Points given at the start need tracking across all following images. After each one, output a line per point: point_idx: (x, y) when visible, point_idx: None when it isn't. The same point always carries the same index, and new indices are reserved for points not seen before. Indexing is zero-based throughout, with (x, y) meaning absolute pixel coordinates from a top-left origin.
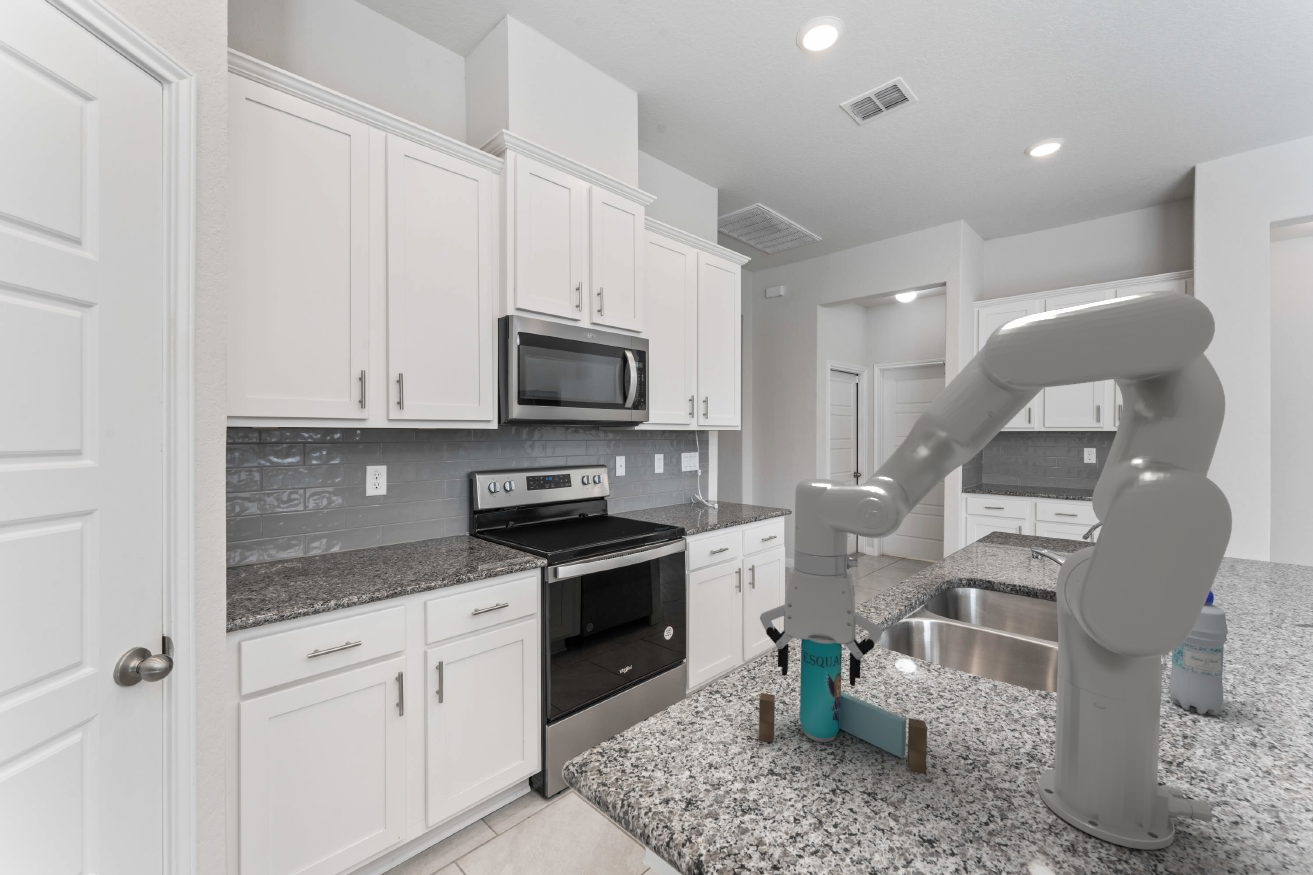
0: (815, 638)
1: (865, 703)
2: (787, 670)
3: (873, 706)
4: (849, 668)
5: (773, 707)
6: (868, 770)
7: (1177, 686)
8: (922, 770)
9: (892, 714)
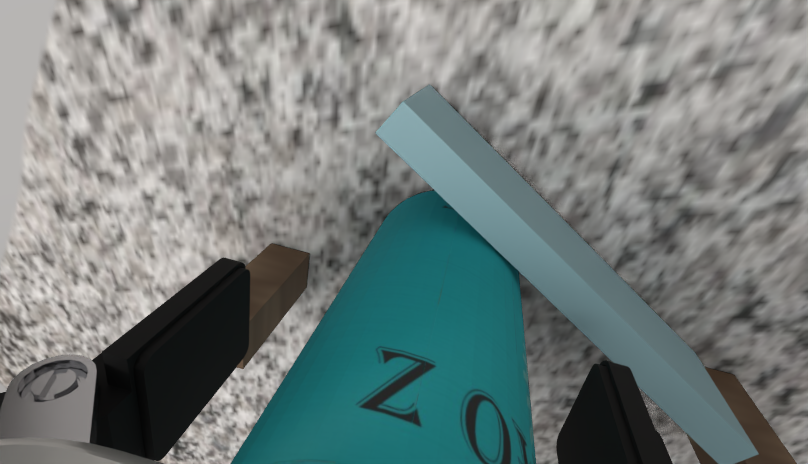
0: None
1: (631, 347)
2: (245, 317)
3: (659, 368)
4: (606, 397)
5: (256, 348)
6: (543, 390)
7: None
8: None
9: (714, 425)
